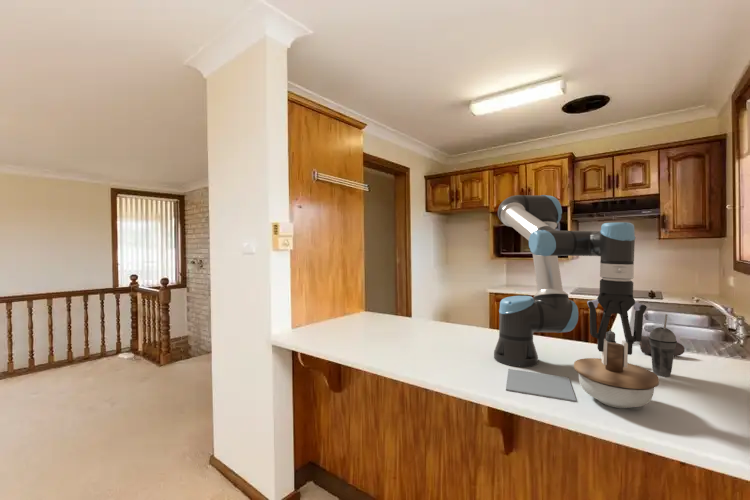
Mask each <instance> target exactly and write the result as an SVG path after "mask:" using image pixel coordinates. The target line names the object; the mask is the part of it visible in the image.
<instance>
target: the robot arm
mask: <svg viewBox="0 0 750 500" xmlns="http://www.w3.org/2000/svg"><path fill="white" fill-rule="evenodd" d="M562 214H563V209H562V205H561V203H560V201H559V199H558V198H556V197H555V196H552V195H546V194H541V195H536V194H535V195H532V194H531V195H525V194H524V195H523V194H517V195H510V196H509V197H506V198H505V199H504V200H503V201H502V202H501V203H500V204H499V206H498V208H497V217H498V219H499V220H500V222H501V223H502V224H503V225H505V226H506V227H510V228H513V229H514V230H515V231H516V232H518V234H519V235H521V236H522V237H524V238H525V239H526V240H527V241H528V249H530V251H529V252H530V253H531V254H532V261H533V265H534V266H533V268H534V274H535V281H536V282H535V283H536V290H537V292H536V293H535V294H534V295H533V297H532V296H531V295H513V296H507V297H504V298H502V299H501V300H500V301H499V309H498V312H499V313H498V314H499V315H498V316H499V317H498V318H499V327H498V329H499V330H498V333H499V334H498V336H499V337H498V340H497V343H496V346H495V348H494V350H493V359H494V360H495V361H496V362H498V363H501V364H504V365H507V366H508V365H509V366H512V367H521V368H523V367H526V368H527V367H534V366H537V365H538V364H539V355H538V352H537V350H536V347H535V343H534V333H556V334H559V333H568V332H569V333H570V332H571V331H573V330H574V329H575V328H576V326H577V324H578V321H579V308H578V305H577V304H576V302H575V301H574V300H571V299H569V294H568V293H567V292H566V291H565V290H564V289H563V282H562V276H561V270H560V263H559V257H561V256H564V257H565V256H566V257H568V256H570V257H572V256H573V257H575V256H576V257H577V256H578V257H579V256H580V257H600V262H599V263H600V266H599V277H600V280H599V294H598V295H597V298H596V299H593V300H587V301H586V303H587V306H588V309H589V334H590V335H591V337H592V338H595V339H597V350H598V352H601V359H602V363H603V365H607V340H606V332H608V331H607V330H608V326H609V323H610V319H611V317H612V315H613V314H618V315H619V317H620V320H621V325H622V329H623V335H624V339H625V340H621V344H622V345H623V346H624V356H623V367H626V368H627V363H628V359H629V358H628V355H629V356H632V354H633V344H634V343H636V342H639V343H640V341H641V338H642V336H643V325H644V324H643V323H644V322H643V321H644V314H645V312H646V310H647V307H648V306H646V305H645V304H643V303H639V302H636V300H635V299H634V282H633V281H632V279H634V269H635V268H634V267H635V265H634V263H635V262H634V261H635V248H636V247H635V244H636V243H635V240H636V236H635V233H636V232H635V225H634V223H631V222H627V221H626V222H621V221H620V222H605V223H604V222H603V223H602V224H601V227H600V230H557V227H558V224H559V223H560V222H561V219H562ZM598 305H600V306H601V307H602V309H603V312H602V318H601V320H600V321H601V322H600V325H599V329H597V308H598ZM632 308H634V310H635V312H634V320H633V322H634V325H633V333H632V329H631V326H630V320H629V314H628V312H629V311H630V309H632ZM597 330H598V331H597ZM632 334H633V335H632Z"/></svg>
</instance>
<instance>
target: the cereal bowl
mask: <svg viewBox="0 0 750 500" xmlns="http://www.w3.org/2000/svg"><path fill="white" fill-rule="evenodd" d="M578 382H579V384H580V386H581V388H582V389H583V390H584V392H585V394H587V395H589V396H590V397H592V398H593V399H596V400H597V401H598V402H600V403H601V404H603V405H606V406H609V407H612V408H616V409H630V408H639V407H643V406H646V405H647V404H649V402H650V401H651V400H652V399H653V397H654V394H655V387H654V388H650V389H631V388H622V387H616V386H611V385H607V384H603V383H600V382H596V381H593V380H591V379H588V378H586V377H584V376H582V375H580V374H579V373H578Z"/></svg>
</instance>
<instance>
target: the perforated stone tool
mask: <svg viewBox="0 0 750 500" xmlns="http://www.w3.org/2000/svg"><path fill="white" fill-rule="evenodd" d="M649 336H650V335H647V336H646V335H642V338H641V341H640V342H639V348H640V350H641V352H642V353H643V354H647V355H651V345H650V341H649ZM685 350H686V349H685V346H684V345H683V344H682V343H680V342H678V341H677V343H676V347H675V349H674V356H673V357H678V356H681V355H683V354H684V353H685Z"/></svg>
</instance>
